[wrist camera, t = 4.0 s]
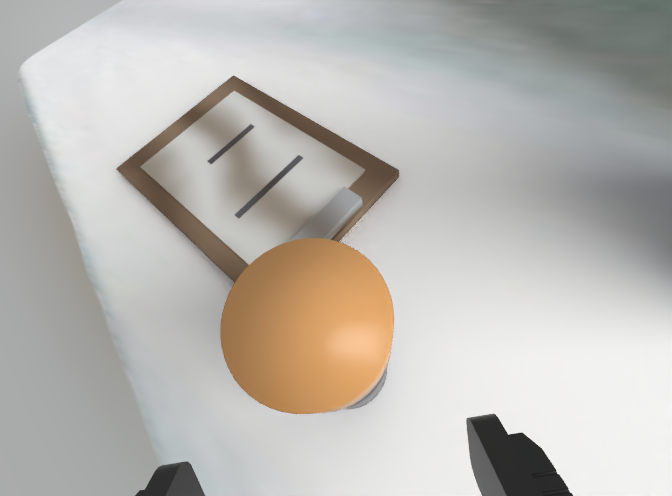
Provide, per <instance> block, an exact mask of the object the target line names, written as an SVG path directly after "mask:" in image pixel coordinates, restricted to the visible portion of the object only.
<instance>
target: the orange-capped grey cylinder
mask: <svg viewBox="0 0 672 496" xmlns="http://www.w3.org/2000/svg"><path fill="white" fill-rule="evenodd" d="M393 328H394V312H393V304H392V300H391V296H390V293H389V290H388V287H387V285H386V283H385V281H384V279H383V277H382V275H381V274H380V273H379V271H378V270H377V268H376V267H375V266H374V265H373V264H372V263H371V262H370V261H369V260H368V259H367V258H366V257H365V256H364V255H362V254H361V253H360V252H358V251H357V250H355V249H353V248H352V247H350V246H347V245H345V244H343V243H340V242H337V241H334V240H328V239H322V238H305V239H298V240H293V241H289V242H286V243H283V244H281V245H278V246H276V247H274V248H272V249H270V250H268V251H267V252H265V253H263V254H262V255H261V256H259V257H258V258H256V259H255V260H254V261H253V262H252V263H251V264H250V265H249V266H248V267H247V268H246V269H245V270H244V271H243V272H242V273H241V275H240V276H239V278H238V279H237V280H236V282H235V283H234V285H233V287H232V289H231V291H230V293H229V295H228V298H227V300H226V303H225V306H224V310H223V314H222V320H221V344H222V350H223V354H224V358H225V361H226V363H227V366H228V368H229V370H230V372H231V374H232V375H233V377H234V379H235V380H236V381H237V383H238V384H239V385H240V387H241V388H242V389H243V390H244V391H245V392H246V393H247V394H248V395H250V396H251V397H252V398H254V399H255V400H256V401H258V402H259V403H261V404H263V405H265V406H267V407H269V408H272V409H275V410H278V411H281V412H287V413H293V414H311V413H326V412H333V411H338V410H341V409H354V408H358V407H361V406H364V405H366V404H367V403H369V402H370V401H372V400H373V399H374V398H375V397H376V396H377V395H378V393H379V392H380V390H381V389H382V387H383V385H384V382H385V379H386V374H387V364H388V361H389V358H390V353H391V346H392V338H393Z"/></svg>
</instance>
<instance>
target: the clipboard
mask: <svg viewBox="0 0 672 496" xmlns="http://www.w3.org/2000/svg"><path fill="white" fill-rule="evenodd" d="M117 170H118V171H119V172H120V173H121V174H122V175H123V176H124V177H125V178H126V179H127V180H128V181H129V182H130V183H132V184H133V185H134V186H135V187H136V188H137V189H138V190H139V191H140V192H141V193H142V194H143V195H144V196H145V197H146V198H147V199H148V200H149V201H150V202H151V203H152V204H153V205H155V206H156V207H157V208H158V209H159V210H160V211H161V212H162V213H163V214H164V215H165V216H166V217H167V218H168V219H169V220H170V221H171V222H172V223H173V224H174V225H175V226H176V227H178V228H179V229H180V230H181V231H182V232H183V233H184V234H185V235H186V236H187V237H188V238H189V239H190V240H191V241H192V242H193V243H194V244H195V245H196V246H197V247H198V248H199V249H201V250H202V251H203V252H204V253H205V254H206V255H207V256H208V257H209V258H210V259H211V260H212V261H213V262H214V263H215V264H216V265H217V266H218V267H219V268H220V269H221V270H222V271H224V272H225V273H226V274H227V275H228V276H229V277H230V278H231V279H232V280H233V281H234V282H236V280H237V279H238V278H239V276H240V275H241V273H242V272H243V271H244V270H245V269H246V268H247V267H248V266H249V265H250V264H251V263H252V262H253V261H254V260H255V259H256V258H258V257H259V256H261V255H262V254H263V253H265V252H267V251H268V250H270V249H272V248H274V247H276V246H278V245H281V244H283V243H286V242H289V241H293V240H298V239H305V238H322V239H328V240H334V241H337V242H339V241H340V239H341V238H342V237H343V236H344V235H345V234H346V233H347V232H348V231H349V230H350V229H351V228H352V227H353V226H354V225H355V223H356V222H357V221H358V220H359V219H360V218H361V217H362V216H363V215H364V214H365V213H366V212H367V211H368V210H369V208H370V207H371V206H372V205H373V204H374V203H375V202H376V201H377V200H378V199H379V198H380V197H381V196H382V195H383V193H384V192H385V191H386V190H387V189H388V188H389V187H390V186H391V185H392V184H393V183H394V182H395V181H396V180H397V178H398V177H399V170H397V169H396V168H394V167H392V166H390V165H389V164H387V163H385V162H383V161H382V160H380V159H378V158H376V157H375V156H373V155H371V154H369V153H368V152H366V151H364V150H362V149H361V148H359V147H357V146H356V145H354V144H352V143H350V142H349V141H347V140H345V139H343V138H342V137H340V136H338V135H336V134H335V133H333V132H331V131H329V130H328V129H326V128H324V127H322V126H321V125H319V124H317V123H315V122H314V121H312V120H310V119H308V118H307V117H305V116H303V115H301V114H300V113H298V112H296V111H295V110H293V109H291V108H289V107H288V106H286V105H284V104H282V103H281V102H279V101H277V100H275V99H274V98H272V97H270V96H268V95H267V94H265V93H263V92H261V91H260V90H258V89H256V88H254V87H253V86H251V85H249V84H247V83H246V82H244V81H242V80H240V79H239V78H237V77H235V76H232V77H231V78H230V79H229V80H227V81H226V82H225V83H223V84H222V85H221V86H220V87H218V88H217V89H216V90H215V91H213V92H212V93H211V94H210V95H208V96H207V97H206V98H205V99H203V100H202V101H201V102H200V103H198V104H197V105H196V106H195V107H193V108H192V109H191V110H190V111H188V112H187V113H186V114H185V115H183V116H182V117H181V118H179V119H178V120H177V121H176V122H174V123H173V124H172V125H171V126H169V127H168V128H167V129H166V130H164V131H163V132H162V133H161V134H159V135H158V136H157V137H156V138H154V139H153V140H152V141H151V142H149V143H148V144H147V145H146V146H144V147H143V148H142V149H141V150H139V151H138V152H137V153H135V154H134V155H133V156H132V157H130V158H129V159H128V160H127V161H125V162H124V163H123V164H122V165H120V166H119V167H118V168H117Z"/></svg>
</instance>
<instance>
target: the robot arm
mask: <svg viewBox="0 0 672 496" xmlns="http://www.w3.org/2000/svg"><path fill="white" fill-rule="evenodd" d="M467 432H468V442H469V452H470V460H471V465H472V469H473V472H474V476H475V479H476V482H477V484H478V487H479V489H480V492H481V494H482V496H573V495H572V493H570V492H569V490H568V487H567V486H566V484H565V483H564V481H563V480H562V478H561V477H560V475H559V474H557V472H556V469H555V468H554V466H553V465H552V463H551V462H550V460H549V459H548V457H547V456H546V454H545V453H544V451H543V450H542V448H540V447H539V446H538V445H537V444H535V443H534V442H533V441H532V440H531V439H529V438H528V437H527V436H526V435H525V434H523V433H516V434H510V435H508V434H507V432H506V430H505V429H504V427H503V425H502V424H501V422H500V420H499V419H498V417H497V416H496V415H495V414H489V415H483V416H477V417H470V418H467ZM135 496H205V495H204V492H203V490H202V488H201V486H200V484H199V481H198V479H197V477H196V475H195V473H194V470H193V468H192V466H191V464H190V463H189V462H180V463H174V464H168V465H162V466H160V467H158V469H157V470H156V471H155V472H154V474H153V476H152V478H151V480H150V481H149V483H148V485H147V487H146V489H145V490H140V491H139V492H138V493H137V494H136V495H135Z"/></svg>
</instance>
